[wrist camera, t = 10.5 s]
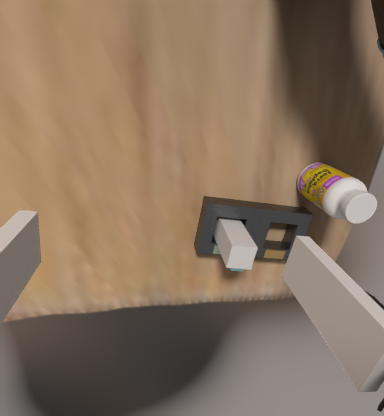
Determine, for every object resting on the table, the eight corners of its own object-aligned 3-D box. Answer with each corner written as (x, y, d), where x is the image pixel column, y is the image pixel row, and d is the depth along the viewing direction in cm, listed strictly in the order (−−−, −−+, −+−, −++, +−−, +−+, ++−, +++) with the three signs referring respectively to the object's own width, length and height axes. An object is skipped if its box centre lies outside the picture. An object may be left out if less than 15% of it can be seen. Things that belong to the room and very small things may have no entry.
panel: (204, 196, 47) (207, 203, 45) (305, 208, 51) (314, 215, 48) (194, 244, 51) (196, 253, 49) (288, 252, 55) (296, 261, 52)
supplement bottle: (312, 154, 47) (364, 177, 35) (337, 173, 49) (394, 200, 37) (288, 185, 49) (329, 216, 37) (312, 202, 51) (359, 237, 39)
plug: (216, 213, 49) (232, 245, 39) (237, 215, 50) (257, 247, 40) (211, 235, 51) (225, 272, 41) (231, 237, 52) (249, 273, 42)
